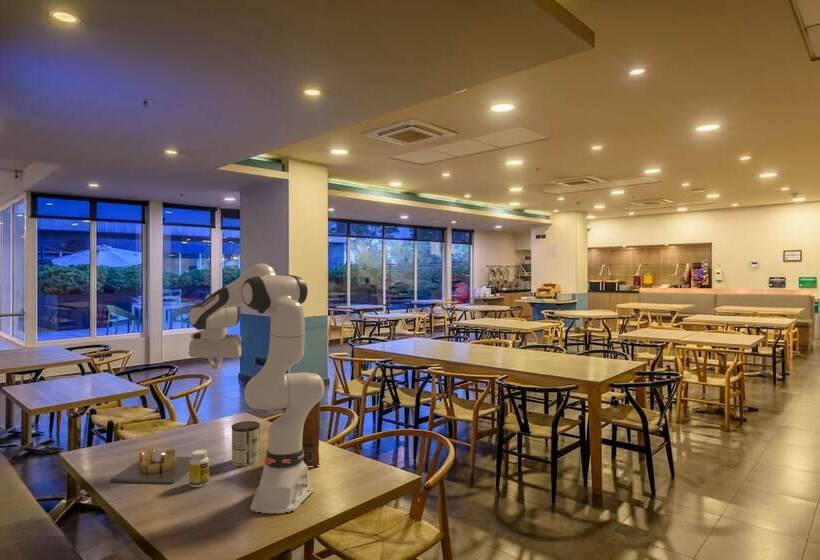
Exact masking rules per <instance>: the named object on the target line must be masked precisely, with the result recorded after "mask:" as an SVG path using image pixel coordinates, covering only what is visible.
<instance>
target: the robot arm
mask: <svg viewBox="0 0 820 560" xmlns="http://www.w3.org/2000/svg"><path fill="white" fill-rule="evenodd" d="M308 292H309V290H308V286H307V283H306V280H304V279H303V278H302V277H300V276H296V275H292V274H284V275H281V274H280V275H279V274H278V275H277V274H276V271H275V269H274V268H273V267H272V266H271V265H269V264H267V263H257V264H254V265H253V266H251V267H250V268H248V269H247V270H245V271H244V272H243V273H242V274H241V275H240V276H239V277H238V278H237V279H235V280H234V281H232V282H230V283H229V284H227V285H224V286H223V287H221V288H219V289H217V290H216V291H214V292H213V293H210V294H207V295H206V296H205V298H204V300H203V301H201V302H197V303H195V304H193V306H192V307H191V308H190V310H189V312H188V322H189V324H190V325H191V327H193V328H194V329H196V330H197V332H194V333H191V335H190V339H191V340H190V342H189V344H188V356H189V357H190V358H207V361H208V363H209V364H210V369H211V370H219V369H220V368H221V364H222V362H223V359H239V358H240V357H241V356H242V345H241V344H242V337H241V336H240V335H239V334H235V333H234V334H232V333H229V334H228V328H232V327H236V326H237V325H238V323H239V322H240V320H241V318H242V317H241V315H242V314H241V313H242V312H241V309H240V307H248V308H250V309H252V310H254V311H256V312H257V313H259V314H261V315H263V314H264V313H265V312H266V311H267V313H268V314H269V317H270V327H269V329H270V330H269V346H268V352H267V353H268V354H267V357H266V359H265V360H266V361H265V363H264V365H263V366H262V368H261V369H260V370H259V372H257V374H256V375H255V376H253V377H252V378H250V379H249V381H247V383H246V385H245V387H244V399H245V402H246V404H247V405H248V407H250V408H251V409H254V410H267V411H268V410H275V409H277V410H278V409H282V408H287V409H286V411H285V413H284V414H283V413H282V415H281V416H279V417H277V418H276V419H275V420H273V421H272V422H271V423H270V425H269V427H268V429H267V449H266V453H265V458H264V462H263V463H264V465H263V469H262V473H261V477H260V481H259V485H258V487H257V488H256V489H255V493H254V495H253V499H252V501H251V505H250V508H249V509H250V511H251V510H252V511H251V512H254V511H255V513H258V512H261V513H260V514H275V513H276V514H287V513H286V512H288V513H292V512H291V511H293V512H295V511H296V510H297V509H298V508H300V506H302V504H303V503H304V502H305V501H306V500H307V499H308V498H309V497H310V496H311V495H312V494H313V493H314V492H313V491H314V488H313V487H310V484H309V482H310V481H309V467H308V466H307V465H306V464H305V463H304V461H303V459H304V448H303V447H302V439H303V427H304V422H305V419H306V417H307V415H308V413H309V412H310V410H311V409H312V408H313V407H314V406H315V405H316V404H317V403H318V402H319V401H320V402H321V400H323V399H322V398H323V396H324V394H325V388H326V387H325V381H324V379H322V377H321V375H320V374H318V373H312V372H304V371H303V372H295V373H291V372H290V373H287V371H288V370H289V369H290V368H291V367H292V366H294V365H296V364H298V363H299V362H300V361H301V360H302V359H303V357H304V355H305V337H306V321H305V320H306V319H305V313H304V306H303V305H302V304H304V303H305V302H306V299H307V297H308V294H309V293H308ZM215 358H216V361H217V363H214V359H215ZM312 492H313V493H312ZM311 493H312V494H311ZM310 494H311V495H310ZM309 495H310V496H309ZM308 496H309V497H308ZM307 497H308V498H307ZM306 498H307V499H306ZM305 499H306V500H305ZM304 500H305V501H304ZM303 501H304V502H303ZM302 502H303V503H302ZM301 503H302V504H301Z"/></svg>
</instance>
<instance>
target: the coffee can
mask: <svg viewBox="0 0 820 560" xmlns="http://www.w3.org/2000/svg"><path fill="white" fill-rule="evenodd" d="M260 425H261V423H260V422H258V421H254V420H253V421H251V420H250V421H249V420H246V421H240V422H236V423H234V424H232V425H231V464H232V465H233V466H237V467H246V466H247V465H248V466H253V465H255V464H257V463H259V462H258V461H260V459H261V458H260ZM252 464H253V465H252ZM248 466H247V467H248Z"/></svg>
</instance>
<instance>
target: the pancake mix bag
mask: <svg viewBox="0 0 820 560" xmlns="http://www.w3.org/2000/svg"><path fill="white" fill-rule="evenodd" d="M286 409H287V408H281V410H282V415H283V414H284V413H285V411H286ZM320 432H321V400H320V401H319V402H318V403H317V404H316V405H315V406H314V407H313V408H312V409H311V410H310V412H309V413H308V415H307V417H306V419H305V422H304V427H303V439H302V447H303V448H304V459H303V461H304V463H305V464H306V465H307V466H317V465H320V451H319V447H320Z"/></svg>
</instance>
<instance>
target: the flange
mask: <svg viewBox="0 0 820 560" xmlns="http://www.w3.org/2000/svg"><path fill="white" fill-rule="evenodd" d="M144 454H145V453H144V452H142V451H141V452H139V454H138V456H139V457H138V458H139V459H138V461H136V462H135V463H133V464H132V465H130V466H128V467H126V468H125V469H123V470H121V471H120V472H119V473H117V474H115V475H114V476H112V477H111V478H110V483H127V482H130V483H132V484H133V483H134V484H136V483H137V484H139V483H140V484H172V485H173V484H175V483H176V482H178V480H180V479H181V478H182V477H183V476H184V475H186V474H187V473H189V469H190V460H191V459H192V458H193V457H192V456H176V457H177V465H176V467H175V468H173V469H171V470H168V471H165V472H160V473H144V472H142V471H140V462H141V461H142V457H143V456H145V455H144ZM164 454H166V451H165V450H157V451H156V452H153V453H152V464H156V463H161V455H164Z"/></svg>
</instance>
